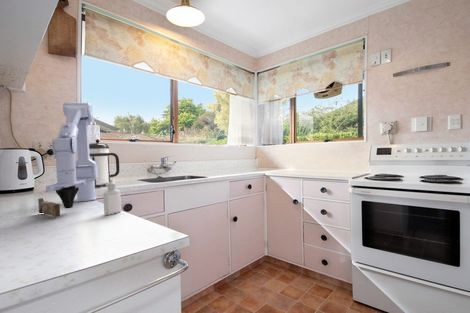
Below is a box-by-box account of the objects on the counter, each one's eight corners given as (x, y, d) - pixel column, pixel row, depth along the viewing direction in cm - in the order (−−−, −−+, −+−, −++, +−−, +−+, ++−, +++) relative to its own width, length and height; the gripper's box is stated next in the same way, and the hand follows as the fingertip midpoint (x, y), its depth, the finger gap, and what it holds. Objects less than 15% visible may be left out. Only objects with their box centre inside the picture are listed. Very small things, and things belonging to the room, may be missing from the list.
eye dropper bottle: (122, 212, 85) (121, 179, 85) (105, 215, 82) (103, 180, 82) (120, 210, 89) (118, 178, 89) (103, 213, 86) (101, 179, 85)
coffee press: (106, 187, 147) (104, 138, 146) (80, 188, 147) (78, 139, 146) (120, 183, 164) (118, 139, 163) (97, 184, 165) (95, 140, 164)
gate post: (36, 212, 89) (35, 198, 89) (52, 211, 92) (51, 196, 91) (31, 216, 85) (30, 200, 85) (49, 214, 87) (48, 198, 87)
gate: (41, 213, 87) (40, 201, 87) (46, 212, 88) (45, 200, 88) (54, 217, 81) (54, 205, 80) (60, 216, 82) (59, 204, 82)
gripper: (73, 168, 95) (75, 203, 96) (37, 173, 81) (39, 213, 81) (89, 168, 94) (91, 203, 94) (54, 172, 79) (57, 213, 80)
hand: (68, 207), depth 88 cm, fingers closed
